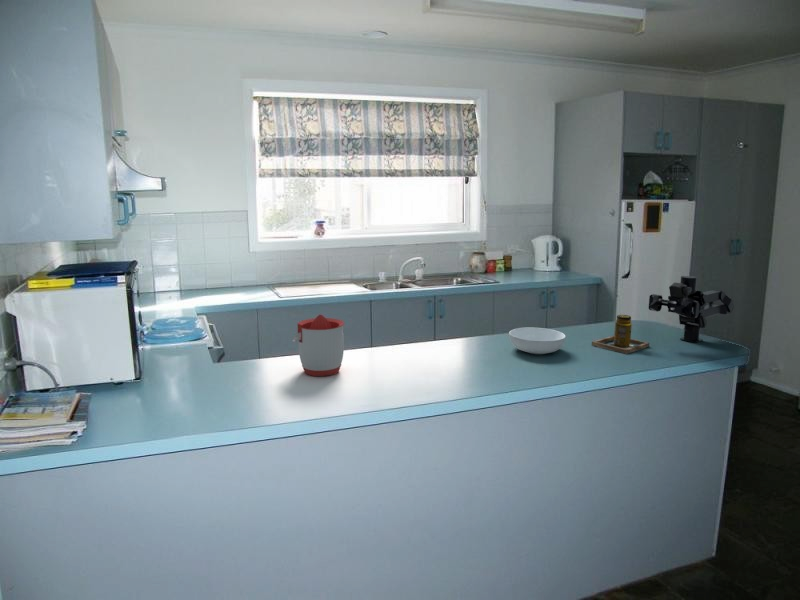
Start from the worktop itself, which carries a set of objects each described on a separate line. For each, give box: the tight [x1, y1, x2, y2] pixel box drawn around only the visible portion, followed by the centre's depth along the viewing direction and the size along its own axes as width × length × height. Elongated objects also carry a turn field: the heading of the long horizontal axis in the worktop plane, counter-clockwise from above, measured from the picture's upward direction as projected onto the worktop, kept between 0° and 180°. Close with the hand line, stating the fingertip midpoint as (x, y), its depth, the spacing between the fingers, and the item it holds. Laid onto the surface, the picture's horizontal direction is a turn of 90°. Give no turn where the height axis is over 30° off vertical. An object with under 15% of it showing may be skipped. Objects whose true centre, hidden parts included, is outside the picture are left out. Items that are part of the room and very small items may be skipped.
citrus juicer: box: [292, 313, 345, 377], centre depth 205 cm, size 16×17×20 cm
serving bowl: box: [508, 327, 567, 355], centre depth 231 cm, size 21×21×7 cm
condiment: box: [608, 314, 635, 349], centre depth 237 cm, size 7×8×12 cm
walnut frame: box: [591, 335, 650, 355], centre depth 238 cm, size 16×15×2 cm
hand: (661, 308), depth 228 cm, fingers open, 9 cm apart
